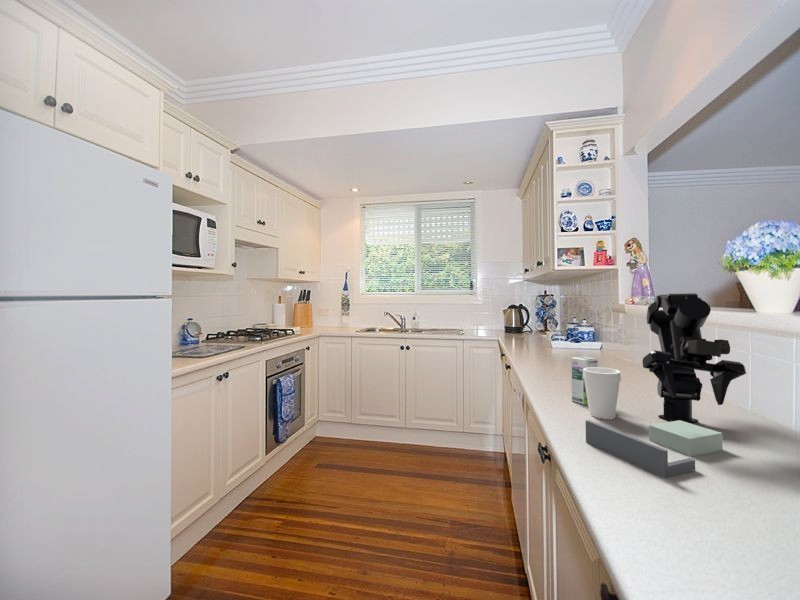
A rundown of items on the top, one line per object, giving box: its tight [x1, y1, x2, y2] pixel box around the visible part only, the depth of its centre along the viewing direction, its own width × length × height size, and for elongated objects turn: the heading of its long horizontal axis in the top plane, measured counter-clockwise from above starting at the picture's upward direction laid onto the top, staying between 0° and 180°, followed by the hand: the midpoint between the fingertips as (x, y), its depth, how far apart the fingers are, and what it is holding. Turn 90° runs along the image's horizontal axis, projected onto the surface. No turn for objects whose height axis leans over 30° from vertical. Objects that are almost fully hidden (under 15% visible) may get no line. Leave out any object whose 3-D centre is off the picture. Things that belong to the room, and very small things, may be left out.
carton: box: [648, 420, 724, 457], centre depth 81 cm, size 10×9×4 cm
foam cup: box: [583, 367, 622, 420], centre depth 102 cm, size 10×9×13 cm
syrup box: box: [570, 356, 599, 406], centre depth 115 cm, size 6×6×14 cm
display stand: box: [585, 419, 696, 479], centre depth 76 cm, size 8×18×5 cm, turn 18°
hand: (696, 400), depth 81 cm, fingers open, 9 cm apart
